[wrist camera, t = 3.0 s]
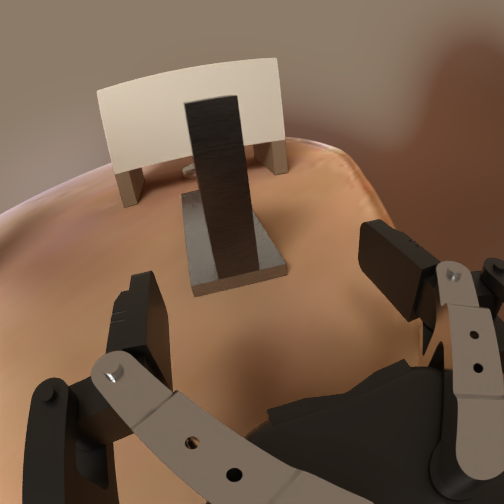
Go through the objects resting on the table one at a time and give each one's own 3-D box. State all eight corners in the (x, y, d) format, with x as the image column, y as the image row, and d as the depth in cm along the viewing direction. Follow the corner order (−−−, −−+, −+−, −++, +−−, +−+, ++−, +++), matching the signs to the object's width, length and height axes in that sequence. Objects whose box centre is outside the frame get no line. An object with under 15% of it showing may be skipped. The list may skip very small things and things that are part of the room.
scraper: (287, 276, 23) (270, 91, 16) (194, 298, 22) (149, 111, 15) (235, 191, 40) (221, 91, 33) (183, 202, 38) (163, 102, 32)
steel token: (177, 181, 47) (175, 173, 47) (193, 169, 52) (192, 161, 51) (211, 179, 46) (209, 170, 45) (225, 168, 50) (223, 159, 50)
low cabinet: (287, 172, 43) (276, 57, 34) (124, 207, 40) (96, 90, 31) (262, 153, 55) (252, 65, 46) (135, 180, 51) (115, 91, 42)
